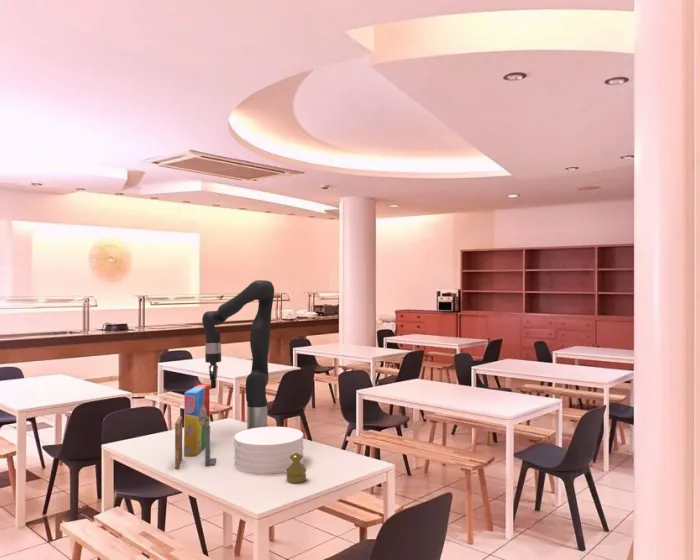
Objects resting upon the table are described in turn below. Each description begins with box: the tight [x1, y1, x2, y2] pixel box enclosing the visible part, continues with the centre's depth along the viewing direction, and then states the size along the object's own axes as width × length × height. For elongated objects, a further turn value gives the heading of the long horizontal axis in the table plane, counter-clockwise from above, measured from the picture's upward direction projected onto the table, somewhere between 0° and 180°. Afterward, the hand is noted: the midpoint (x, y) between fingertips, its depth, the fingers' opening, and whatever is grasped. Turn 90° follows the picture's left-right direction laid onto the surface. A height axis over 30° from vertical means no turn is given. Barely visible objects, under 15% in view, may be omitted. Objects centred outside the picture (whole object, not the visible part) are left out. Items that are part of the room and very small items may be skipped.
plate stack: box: [233, 426, 304, 475], centre depth 229 cm, size 28×28×12 cm
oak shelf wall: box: [174, 416, 183, 470], centre depth 227 cm, size 2×12×18 cm, turn 11°
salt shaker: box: [285, 453, 307, 484], centre depth 208 cm, size 7×7×10 cm
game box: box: [183, 384, 211, 457], centre depth 248 cm, size 21×6×27 cm, turn 179°
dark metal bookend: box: [204, 425, 217, 467], centre depth 229 cm, size 4×8×14 cm, turn 11°
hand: (213, 388), depth 270 cm, fingers closed
